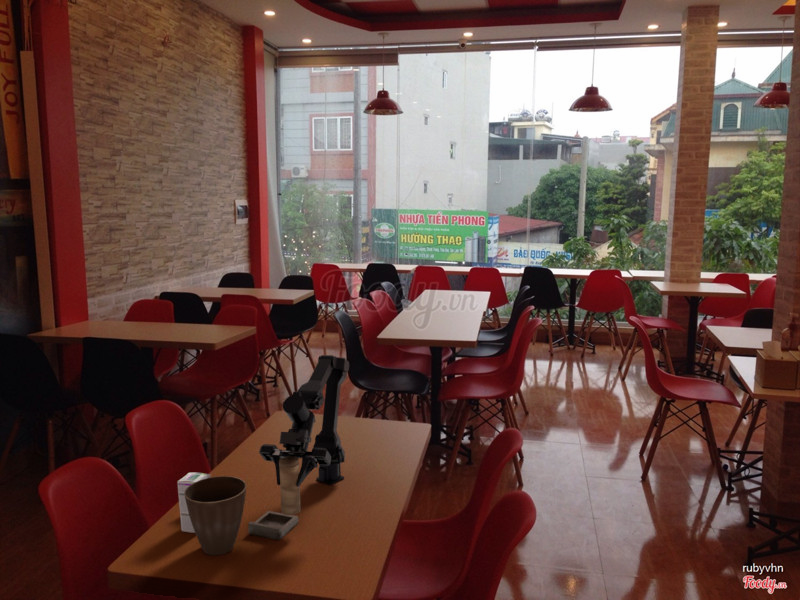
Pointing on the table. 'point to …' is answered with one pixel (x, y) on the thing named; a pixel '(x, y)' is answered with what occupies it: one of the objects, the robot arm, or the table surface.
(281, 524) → the grey tray
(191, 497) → the plant pot
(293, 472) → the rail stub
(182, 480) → the syrup box
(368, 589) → the table surface
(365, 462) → the table surface
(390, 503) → the table surface
